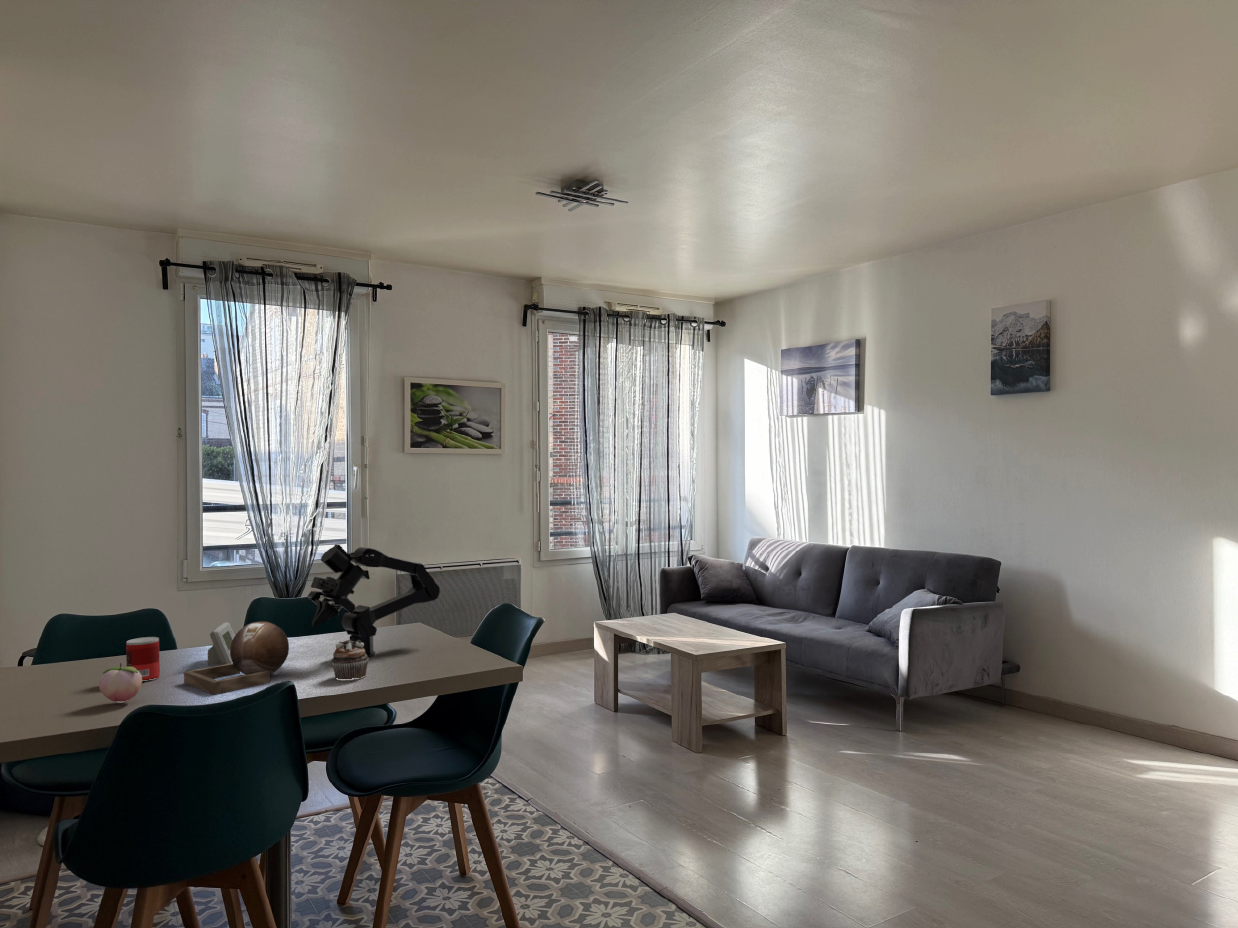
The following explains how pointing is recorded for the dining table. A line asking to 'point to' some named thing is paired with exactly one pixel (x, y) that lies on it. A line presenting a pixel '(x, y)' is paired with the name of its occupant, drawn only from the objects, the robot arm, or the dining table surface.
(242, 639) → the wooden sphere
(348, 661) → the cupcake
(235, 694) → the dining table surface
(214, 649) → the digital clock
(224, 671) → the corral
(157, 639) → the canned food
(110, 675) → the decorative fruit
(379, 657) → the dining table surface
